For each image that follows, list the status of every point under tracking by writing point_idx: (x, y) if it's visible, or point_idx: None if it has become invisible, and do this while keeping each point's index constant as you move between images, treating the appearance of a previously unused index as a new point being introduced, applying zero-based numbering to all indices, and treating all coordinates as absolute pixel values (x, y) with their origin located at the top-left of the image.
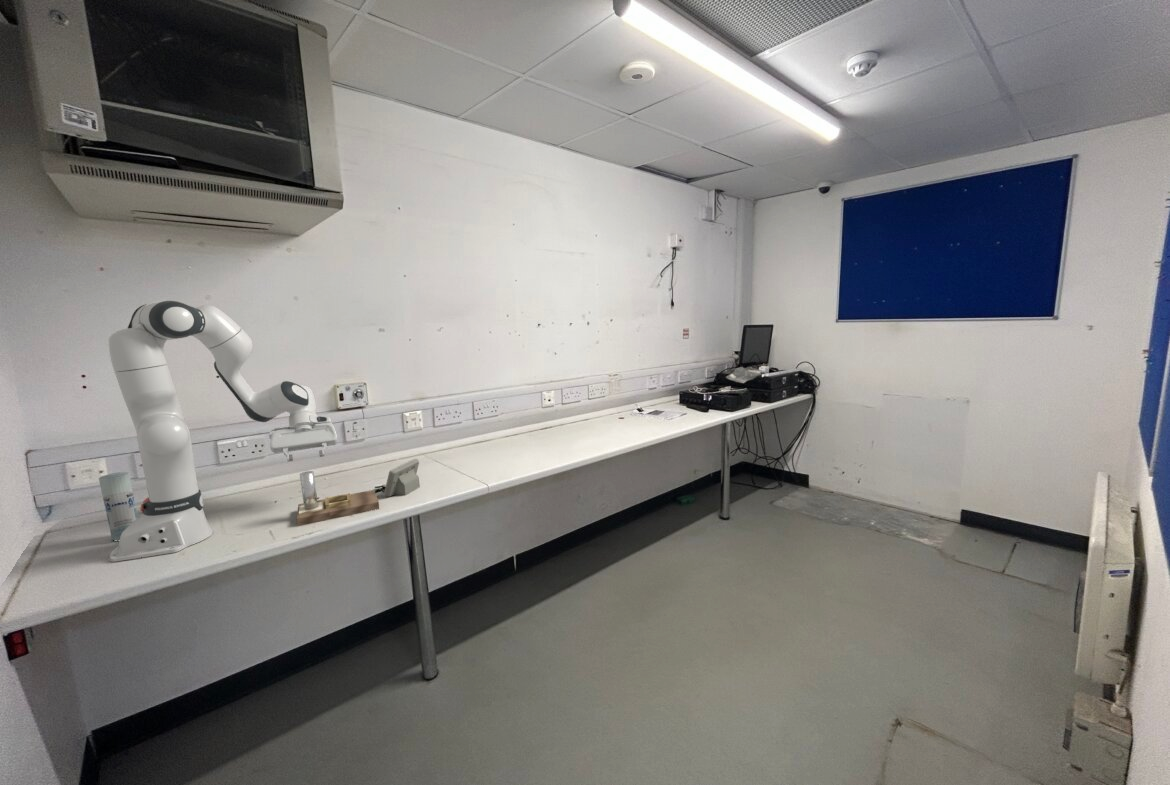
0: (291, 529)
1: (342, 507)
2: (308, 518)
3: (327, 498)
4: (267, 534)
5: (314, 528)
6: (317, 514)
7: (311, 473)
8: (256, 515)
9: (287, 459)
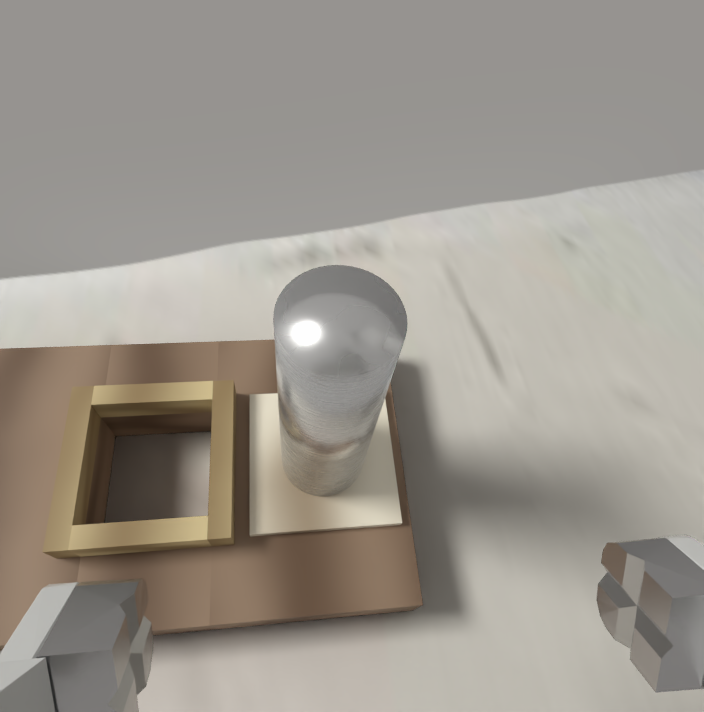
0: None
1: (142, 374)
2: None
3: (215, 512)
4: (497, 334)
5: None
6: None
7: (292, 283)
8: None
9: (680, 539)
